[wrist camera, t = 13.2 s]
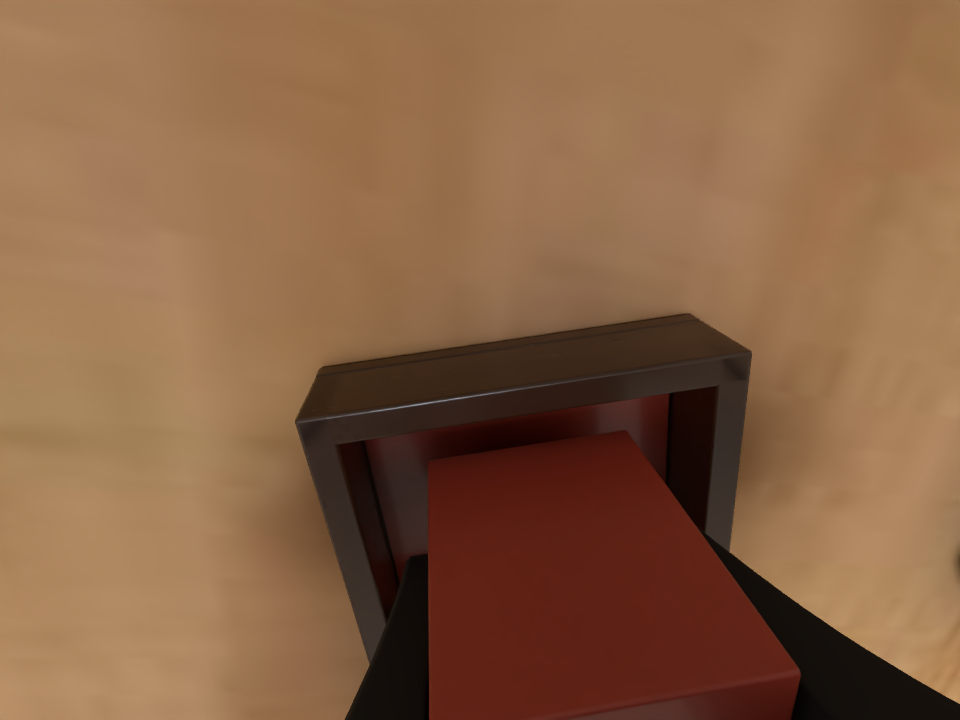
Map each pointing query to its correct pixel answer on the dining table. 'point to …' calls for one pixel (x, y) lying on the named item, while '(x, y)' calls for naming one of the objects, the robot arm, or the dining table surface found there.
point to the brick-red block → (586, 595)
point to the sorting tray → (515, 430)
